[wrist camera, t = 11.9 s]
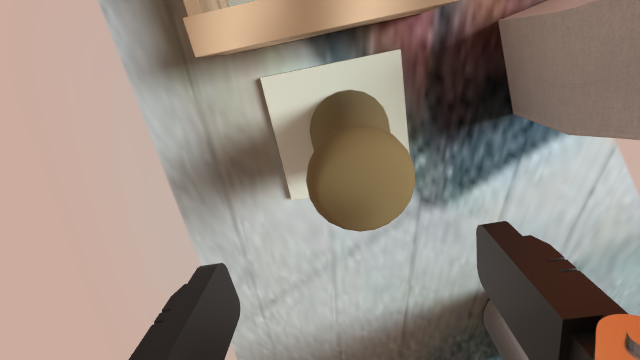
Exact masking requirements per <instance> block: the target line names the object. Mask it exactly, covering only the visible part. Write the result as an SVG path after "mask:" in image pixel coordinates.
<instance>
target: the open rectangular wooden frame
mask: <svg viewBox="0 0 640 360" xmlns="http://www.w3.org/2000/svg"><path fill="white" fill-rule="evenodd" d="M456 1H459V0H258V1H253V2H249V3H245V4H241V5H236V6H232V7H229V5H228V1H227V0H183V2H184V5H185V8H186V11H187V14H188V17H184V18H183V21H184V24H185V27H186V30H187V33H188V36H189V39H190V42H191V45H192V48H193V51H194V54H195V57H206V56H217V55H228V54H234V53H239V52H243V51H248V50H253V49H257V48H262V47H267V46H271V45H276V44H281V43H285V42H290V41H295V40H299V39H304V38H309V37H313V36H318V35H323V34H327V33H332V32H337V31H341V30H346V29H350V28H355V27H360V26H364V25H369V24H374V23H378V22H383V21H388V20H392V19H397V18H402V17H406V16H411V15H416V14H420V13H424V12H427V11H430V10H433V9H436V8H439V7H441V6H444V5H447V4H450V3H453V2H456Z"/></svg>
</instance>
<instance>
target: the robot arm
mask: <svg viewBox="0 0 640 360" xmlns="http://www.w3.org/2000/svg"><path fill="white" fill-rule="evenodd" d="M476 237H477V270H478V275H479V278H480V281H481V284H482V286H483V288H484V290H485V291H486V293H487V294H488V296H489V297H490V300H489V302H488V303H487V305H486V307H485V310H484V314H483V321H484V326H485V328H486V330H487V332H488V333H489V335H490V337H491V339H492V341H493V343H494V344H495V346H496V348H497V350H498V352H499V354H500V356H501V357H502V359H503V360H640V316H637V315H630V314H628V313H627V312H626V311H624V310H623V309H622V308H621V307H620V306H619V305H618V304H617V303H615V302H614V301H613V300H612V299H611V298H610V297H609V296H607V295H606V294H605V293H604V292H603V291H602V290H601V289H600V288H598V287H597V286H596V285H595V284H594V283H593V282H592V281H591V280H589V279H588V278H587V277H586V276H585V275H584V274H583V273H581V272H580V271H577V269H576V267H575V266H574V265H572V264H571V263H570V262H569V261H568V260H565V259H564V257H563V256H562V255H561V254H560V253H559V252H558V251H557V250H555V249H554V248H553V247H552V246H551V245H550V244H548V243H546V242H543V241H541V240H539V239H537V238H535V237H533V236H531V235H528V236H522V235H521V234H520V233H519V232H518V231H517V230H516V229H515V228H514V227H512V226H511V225H510V224H509V223H508V222H506V221H503V222H496V223H490V224H483V225H478V227H477V230H476ZM239 316H240V302H239V298H238V295H237V293H236V290H235V288H234V285H233V282H232V280H231V277H230V275H229V272H228V269H227V267H226V266H225V264H223V263H218V264H212V265H205V266H200V267H198V268H197V270H196V271H195V273H194V274H193V276H192V277H191V279H190V280H189V282H188V284H184V285H183V286H182V287H181V288H180V289H179V290H178V291H177V292H175V293H174V294H173V295H172V296H171V297H170V299H169V300H168V302H167V303H166V305H165V306H164V308H163V309H162V313H160V314H159V315H158V317H157V318H156V320H155V321H154V325H152V326H151V327H150V329H149V330H148V332H147V333H146V335H145V336H144V338H143V339H142V341H141V342H140V344H139V345H138V347H137V348H136V349H135V351H134V353H133V354H132V355H131V357H130V358H129V360H224V359H225V356H226V354H227V351H228V348H229V345H230V342H231V340H232V337H233V334H234V331H235V328H236V326H237V323H238V320H239Z"/></svg>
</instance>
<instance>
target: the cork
mask: <svg viewBox="0 0 640 360" xmlns="http://www.w3.org/2000/svg"><path fill="white" fill-rule="evenodd" d="M310 136H311V142H312V146H313V149H314V152H313V154H312V156H311V158H310V160H309V163H308V169H307V176H306V184H307V189H308V193H309V197H310V199H311V201H312V203H313V205H314V206H315V208H316V210H317V211H318V213H319V214H320V215H322V216H323V217H324V218H325V219H326V220H327V221H328V222H330V223H332V224H334V225H336V226H339V227H341V228H343V229H347V230H354V231H367V230H375V229H377V228H380V227H382V226H384V225H387V224H389V223H390V222H391V221H392V220H394V219H395V218H396V217H398V216H399V215H400V214H401V213H402V212H403V211H404V209H405V208H406V206H407V205H408V203H409V202H410V201H411V197H412V194H413V191H414V187H415V173H414V164H413V161H412V159H411V157H410V155H409V152H408V150H407V149H406V148H405V146H404V145H403V144H402V143H401V142H400V141H399V140H398V139H397V138H396V137H395V136H394V135H393V134H391V132H390V126H389V120H388V117H387V115H386V112H385V110H384V108H383V106H382V105H381V104H380V103H379V102H378V101H377V100H376V99H375V98H374V97H372V96H370V95H369V94H367V93H365V92H362V91H356V90H345V91H339V92H336V93H334V94H332V95H330V96H328V97H326V98H325V99H324V100H323V101H322V102H321V103H320V104H319V105H318V106H317V108H316V110H315V112H314V114H313V116H312V118H311V123H310Z"/></svg>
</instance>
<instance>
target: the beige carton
mask: <svg viewBox="0 0 640 360" xmlns="http://www.w3.org/2000/svg"><path fill="white" fill-rule="evenodd" d="M498 23H499V29H500V35H501V41H502V47H503V54H504V60H505V66H506V72H507V78H508V84H509V90H510V97H511V103H512V109H513V114H515V115H517V116H520V117H523V118H525V119H528V120H531V121H533V122H536V123H539V124H541V125H544V126H547V127H549V128H552V129H555V130H557V131H560V132H563V133H565V134H568V135H579V136H593V137H608V138H623V139H633V140H640V0H547V1H545V2H542V3H540V4H538V5H535V6H533V7H530V8H528V9H525V10H523V11H521V12H518V13H516V14H513V15H511V16H508V17H506V18H504V19H501V20H499V21H498Z"/></svg>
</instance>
